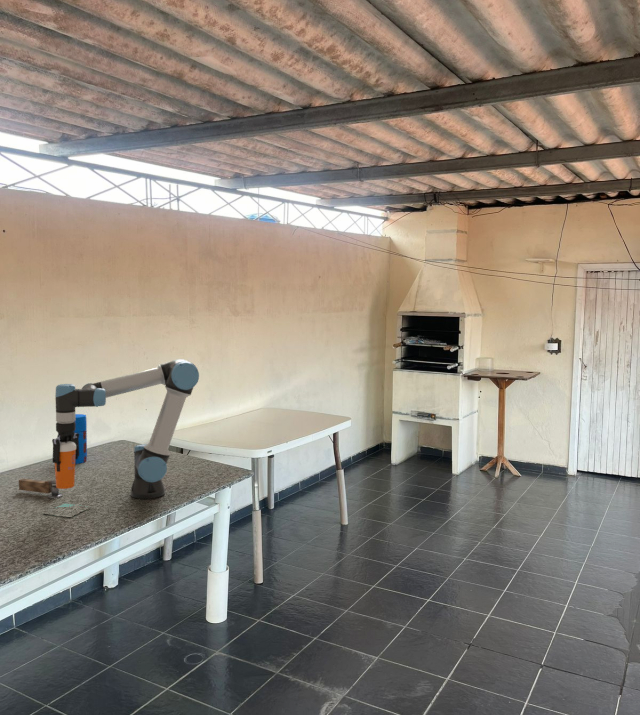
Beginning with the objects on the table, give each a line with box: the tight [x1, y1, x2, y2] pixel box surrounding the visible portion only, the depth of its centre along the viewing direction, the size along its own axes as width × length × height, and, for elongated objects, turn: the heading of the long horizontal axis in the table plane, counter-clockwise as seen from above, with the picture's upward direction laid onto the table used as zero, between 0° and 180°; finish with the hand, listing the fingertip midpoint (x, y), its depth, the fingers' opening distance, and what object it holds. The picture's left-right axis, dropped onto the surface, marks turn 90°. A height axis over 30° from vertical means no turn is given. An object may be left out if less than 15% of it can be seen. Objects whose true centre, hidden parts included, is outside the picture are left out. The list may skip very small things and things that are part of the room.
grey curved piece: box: [47, 484, 63, 500], centre depth 284 cm, size 6×6×5 cm
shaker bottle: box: [54, 439, 76, 490], centre depth 263 cm, size 9×9×20 cm
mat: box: [55, 503, 86, 508], centre depth 266 cm, size 13×13×1 cm
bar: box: [18, 478, 56, 495], centre depth 286 cm, size 21×5×6 cm, turn 73°
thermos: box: [74, 413, 88, 465], centre depth 343 cm, size 11×11×25 cm
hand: (66, 476), depth 264 cm, fingers open, 6 cm apart
